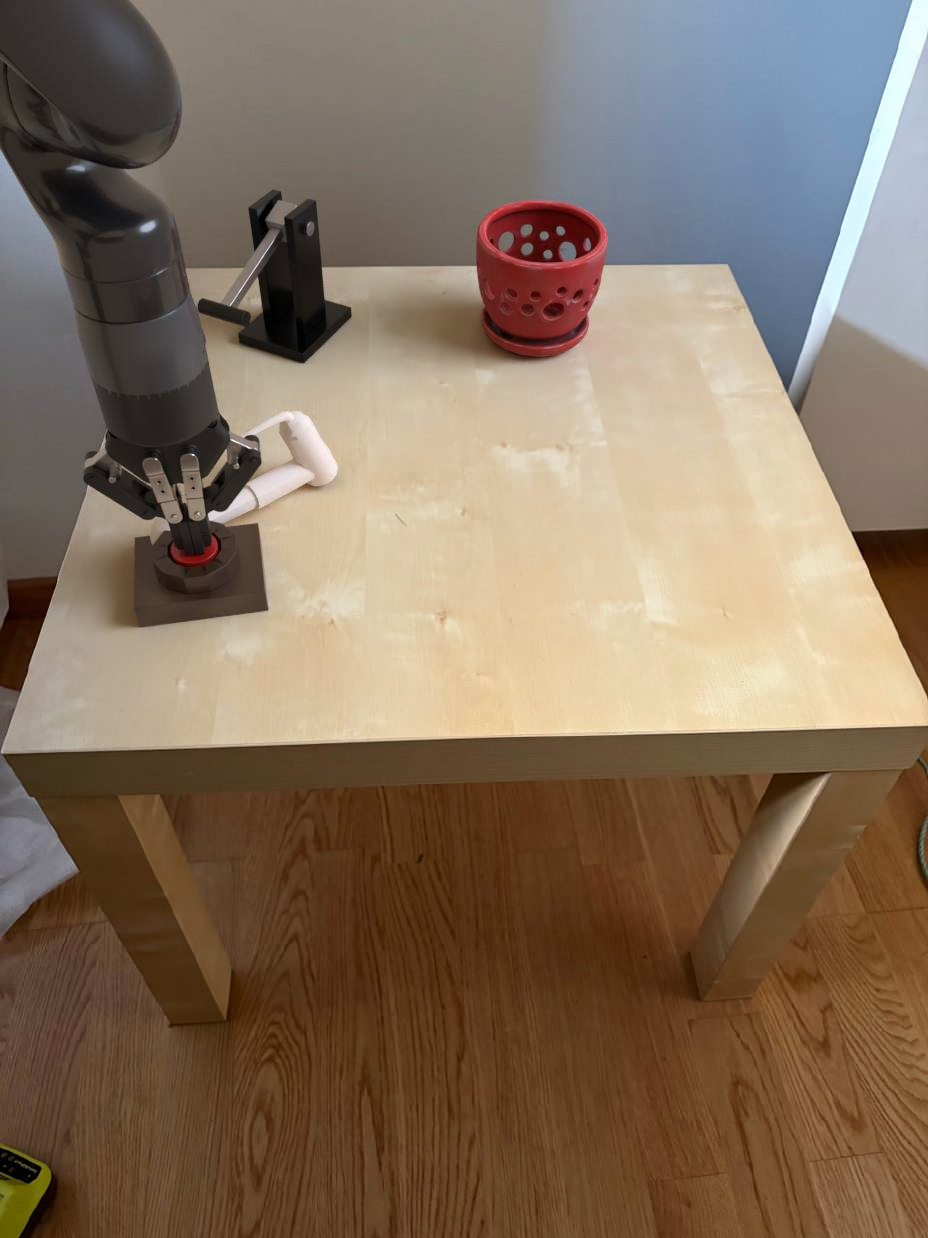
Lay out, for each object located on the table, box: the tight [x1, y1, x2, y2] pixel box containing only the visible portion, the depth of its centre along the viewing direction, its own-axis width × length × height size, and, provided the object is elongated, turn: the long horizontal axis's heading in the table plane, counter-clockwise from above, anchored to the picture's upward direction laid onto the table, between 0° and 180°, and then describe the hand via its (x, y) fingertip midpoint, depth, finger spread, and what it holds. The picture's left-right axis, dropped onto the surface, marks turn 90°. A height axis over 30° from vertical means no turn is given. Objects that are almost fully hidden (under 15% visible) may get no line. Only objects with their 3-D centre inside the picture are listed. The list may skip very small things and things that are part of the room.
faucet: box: [149, 410, 339, 545], centre depth 81 cm, size 4×18×10 cm, turn 134°
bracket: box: [237, 188, 353, 364], centre depth 98 cm, size 10×8×14 cm
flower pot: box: [475, 199, 609, 357], centre depth 100 cm, size 13×13×12 cm
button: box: [171, 536, 219, 567], centre depth 76 cm, size 4×4×2 cm
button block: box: [132, 520, 269, 628], centre depth 77 cm, size 10×8×4 cm
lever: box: [196, 200, 299, 328], centre depth 93 cm, size 14×5×2 cm, turn 155°
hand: (196, 547), depth 76 cm, fingers closed
